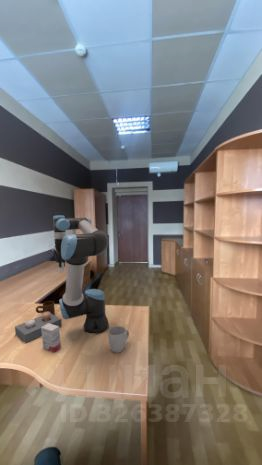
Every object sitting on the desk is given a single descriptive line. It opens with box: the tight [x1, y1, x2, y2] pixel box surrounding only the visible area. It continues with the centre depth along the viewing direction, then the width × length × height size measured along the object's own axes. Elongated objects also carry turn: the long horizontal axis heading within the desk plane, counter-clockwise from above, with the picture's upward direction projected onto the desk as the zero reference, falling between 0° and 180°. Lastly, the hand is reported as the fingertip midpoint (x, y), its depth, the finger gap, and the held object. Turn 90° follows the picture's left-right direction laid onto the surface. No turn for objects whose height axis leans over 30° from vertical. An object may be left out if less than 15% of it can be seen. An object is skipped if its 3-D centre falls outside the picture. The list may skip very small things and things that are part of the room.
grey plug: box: [24, 318, 35, 329], centre depth 126 cm, size 5×5×8 cm
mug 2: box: [107, 325, 130, 353], centre depth 112 cm, size 13×9×10 cm
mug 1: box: [35, 300, 56, 316], centre depth 147 cm, size 12×8×9 cm, turn 124°
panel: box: [14, 313, 63, 344], centre depth 130 cm, size 14×22×5 cm, turn 139°
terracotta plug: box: [41, 311, 51, 322], centre depth 134 cm, size 5×5×8 cm
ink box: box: [41, 323, 62, 353], centre depth 113 cm, size 9×5×12 cm, turn 62°
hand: (62, 271), depth 149 cm, fingers closed
